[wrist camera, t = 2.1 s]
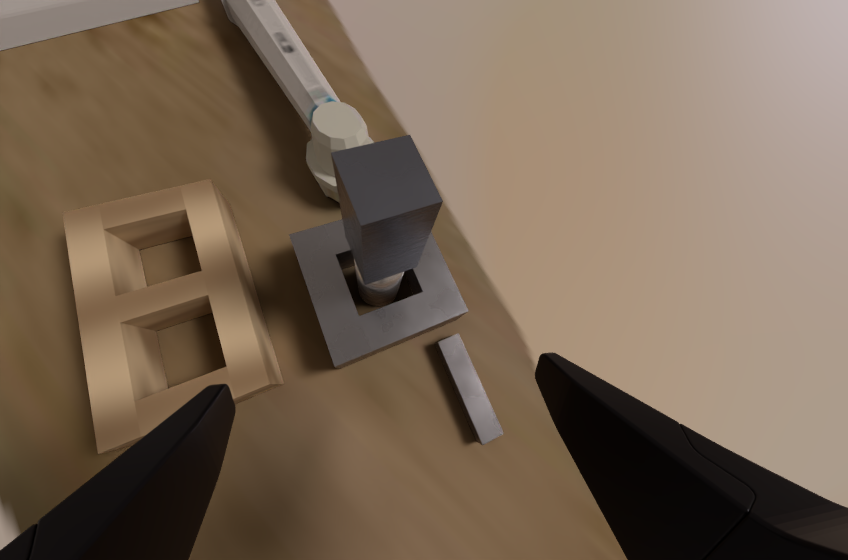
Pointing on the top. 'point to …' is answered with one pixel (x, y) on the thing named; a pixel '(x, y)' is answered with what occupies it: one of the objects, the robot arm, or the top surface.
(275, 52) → the white bulb-headed handheld tool
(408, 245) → the tall grey square pillar
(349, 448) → the top surface
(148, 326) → the rack
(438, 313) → the socket
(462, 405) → the bar
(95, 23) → the grey arched slab
